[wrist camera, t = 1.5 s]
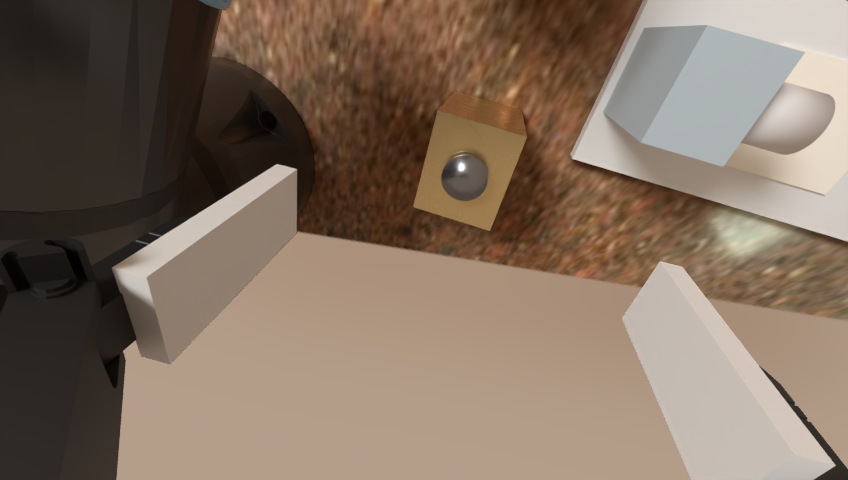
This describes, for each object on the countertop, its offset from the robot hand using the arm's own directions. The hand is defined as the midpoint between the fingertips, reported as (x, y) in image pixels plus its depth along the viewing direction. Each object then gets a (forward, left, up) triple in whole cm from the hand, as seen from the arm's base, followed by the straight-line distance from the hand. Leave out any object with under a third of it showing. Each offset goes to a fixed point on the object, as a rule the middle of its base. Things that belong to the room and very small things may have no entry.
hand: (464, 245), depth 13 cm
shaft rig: (+18, +6, -17) cm, 26 cm away
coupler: (-1, -1, -17) cm, 17 cm away
